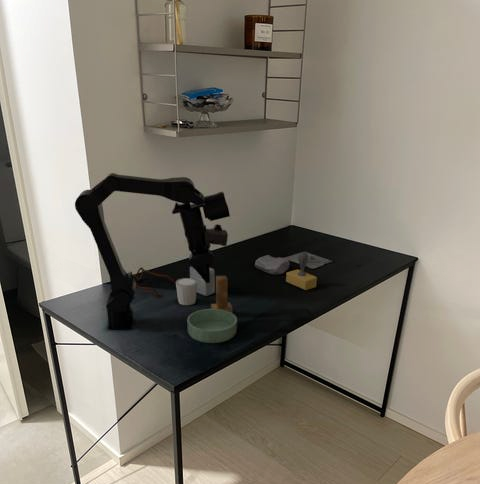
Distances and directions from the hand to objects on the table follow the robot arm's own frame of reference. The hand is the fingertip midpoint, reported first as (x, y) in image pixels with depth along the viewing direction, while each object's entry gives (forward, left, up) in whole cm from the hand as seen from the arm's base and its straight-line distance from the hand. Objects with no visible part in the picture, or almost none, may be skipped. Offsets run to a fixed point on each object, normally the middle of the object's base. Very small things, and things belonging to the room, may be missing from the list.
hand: (207, 276), depth 141 cm
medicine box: (-2, +22, -15) cm, 27 cm away
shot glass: (-7, +14, -15) cm, 22 cm away
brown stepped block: (+4, +4, -15) cm, 16 cm away
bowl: (+1, -7, -15) cm, 16 cm away
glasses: (-20, +26, -15) cm, 36 cm away
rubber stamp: (+33, +28, -15) cm, 46 cm away
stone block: (+24, +43, -15) cm, 52 cm away
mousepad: (+45, +51, -15) cm, 70 cm away
